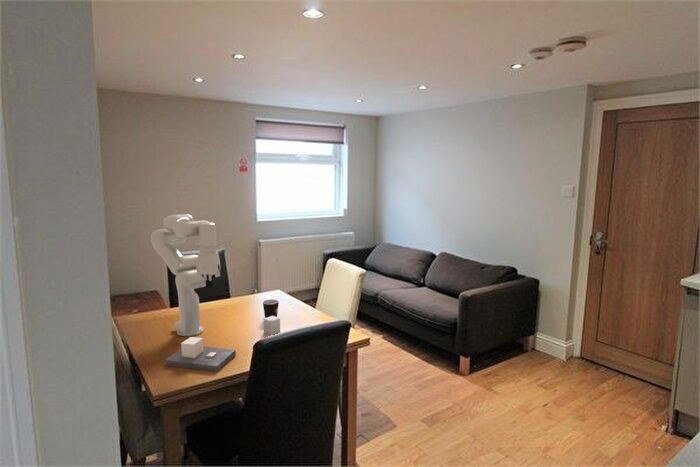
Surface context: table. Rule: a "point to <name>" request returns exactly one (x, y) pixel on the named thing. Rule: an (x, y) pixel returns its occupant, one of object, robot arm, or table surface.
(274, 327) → the skincare box
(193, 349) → the plug
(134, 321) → the table surface
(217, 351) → the socket plate
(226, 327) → the table surface
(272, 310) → the coffee mug
